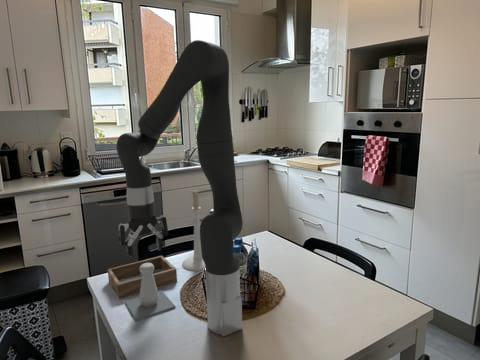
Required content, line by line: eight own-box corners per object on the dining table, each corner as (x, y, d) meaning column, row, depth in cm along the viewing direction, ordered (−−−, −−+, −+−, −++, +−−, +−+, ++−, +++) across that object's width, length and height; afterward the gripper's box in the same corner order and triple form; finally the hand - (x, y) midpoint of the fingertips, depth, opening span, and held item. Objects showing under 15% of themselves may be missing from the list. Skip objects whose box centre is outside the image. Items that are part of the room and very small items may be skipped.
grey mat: (175, 307, 106) (175, 306, 106) (136, 321, 100) (136, 319, 100) (161, 291, 116) (161, 289, 116) (124, 302, 110) (124, 301, 110)
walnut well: (177, 282, 122) (176, 268, 121) (119, 299, 112) (117, 285, 111) (162, 267, 134) (161, 255, 133) (108, 282, 123) (107, 269, 122)
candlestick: (196, 274, 128) (192, 195, 122) (175, 264, 136) (171, 190, 130) (221, 263, 137) (219, 188, 131) (200, 254, 145) (197, 184, 140)
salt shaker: (139, 310, 104) (136, 270, 102) (139, 300, 110) (136, 262, 107) (159, 307, 106) (156, 267, 103) (158, 297, 111) (156, 259, 109)
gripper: (119, 208, 94) (125, 263, 98) (168, 199, 102) (172, 251, 105) (112, 202, 101) (118, 255, 104) (159, 194, 108) (163, 244, 111)
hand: (145, 253), depth 104 cm, fingers open, 8 cm apart
